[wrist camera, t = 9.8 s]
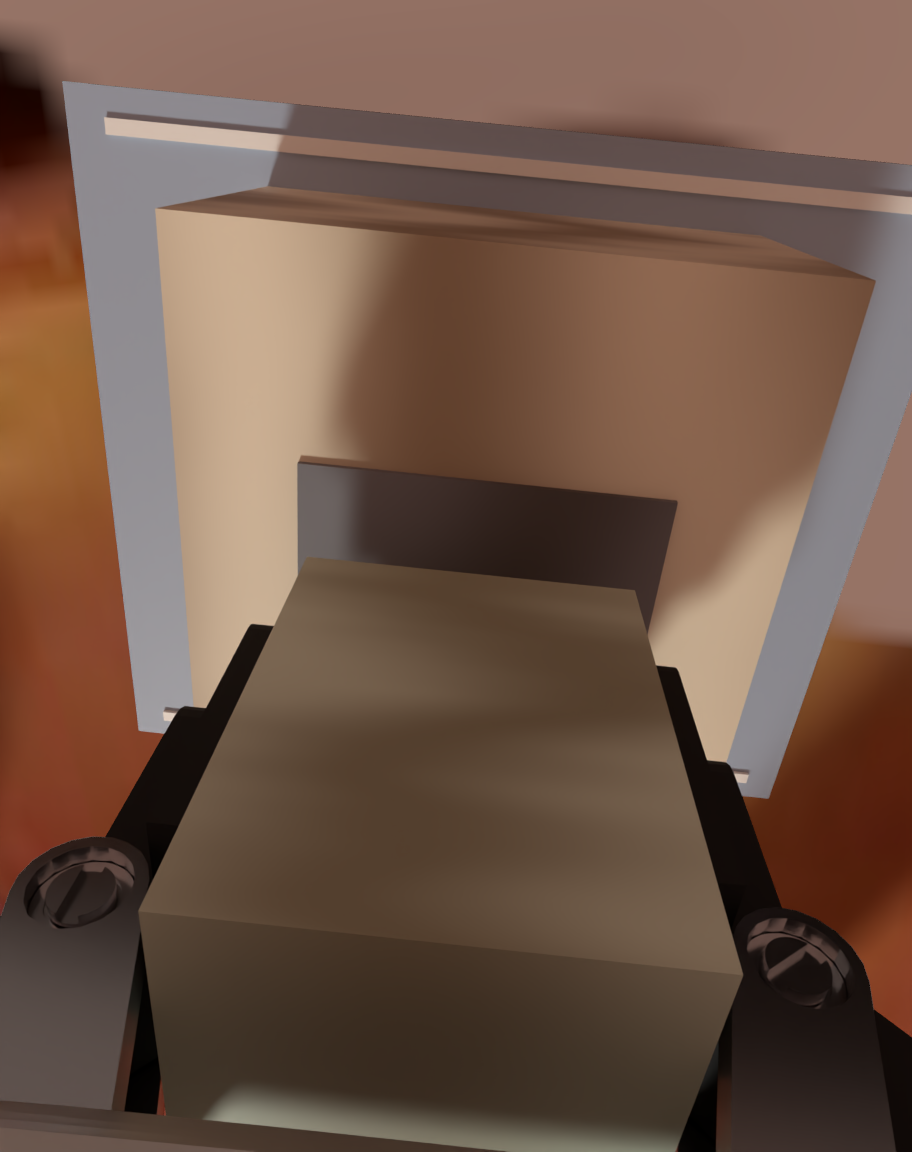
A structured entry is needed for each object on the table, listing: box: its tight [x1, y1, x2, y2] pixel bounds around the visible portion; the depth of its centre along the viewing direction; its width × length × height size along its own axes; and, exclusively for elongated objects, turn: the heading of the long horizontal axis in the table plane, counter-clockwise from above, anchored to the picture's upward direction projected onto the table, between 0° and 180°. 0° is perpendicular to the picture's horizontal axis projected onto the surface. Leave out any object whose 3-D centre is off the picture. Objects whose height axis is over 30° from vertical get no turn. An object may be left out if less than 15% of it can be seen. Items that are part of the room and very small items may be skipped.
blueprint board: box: [62, 81, 912, 799], centre depth 20 cm, size 18×16×1 cm
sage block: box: [138, 557, 743, 1152], centre depth 10 cm, size 5×5×6 cm
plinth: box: [155, 186, 876, 762], centre depth 17 cm, size 10×13×6 cm
